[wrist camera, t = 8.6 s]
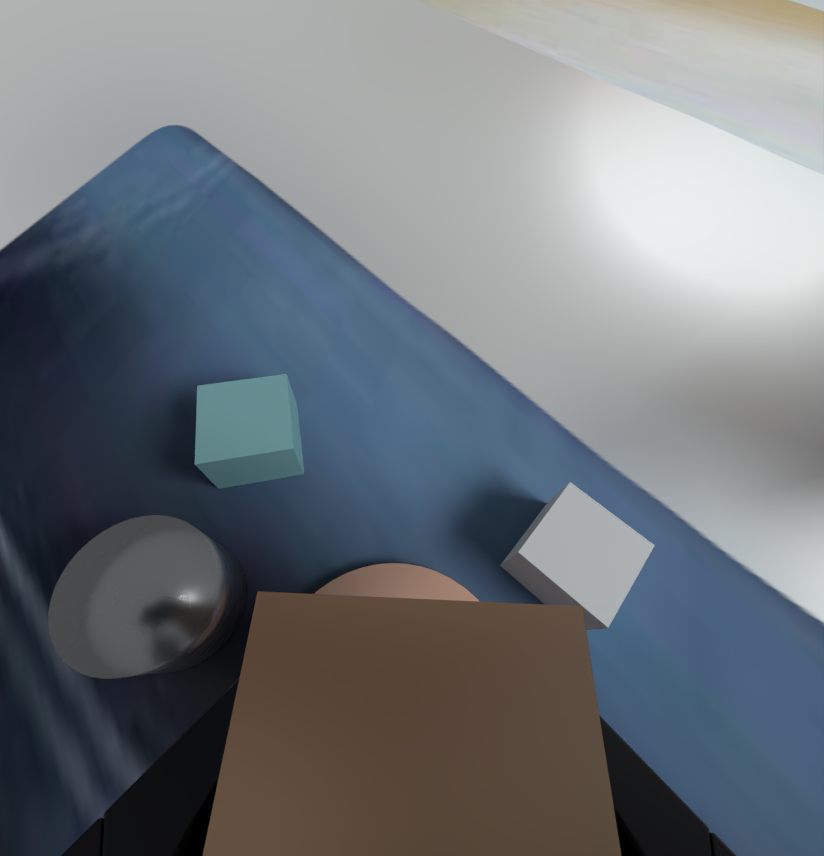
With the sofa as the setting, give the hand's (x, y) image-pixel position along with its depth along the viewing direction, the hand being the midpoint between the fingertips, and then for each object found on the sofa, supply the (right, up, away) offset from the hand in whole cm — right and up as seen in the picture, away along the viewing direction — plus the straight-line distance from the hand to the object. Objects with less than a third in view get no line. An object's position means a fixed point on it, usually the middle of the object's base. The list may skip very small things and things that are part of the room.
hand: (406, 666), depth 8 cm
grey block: (+7, -1, +11) cm, 13 cm away
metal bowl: (-9, -2, +9) cm, 13 cm away
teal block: (-8, +4, +13) cm, 15 cm away
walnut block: (0, -4, +5) cm, 7 cm away
